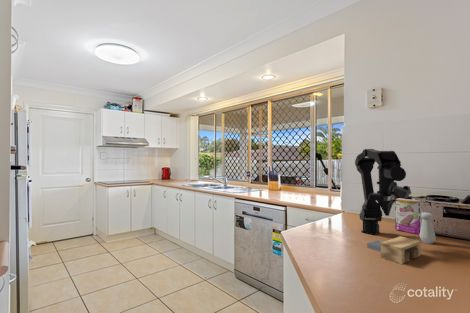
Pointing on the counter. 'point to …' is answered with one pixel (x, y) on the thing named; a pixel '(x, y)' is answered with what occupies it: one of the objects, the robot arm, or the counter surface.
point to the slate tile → (377, 246)
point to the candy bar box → (408, 215)
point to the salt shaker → (427, 229)
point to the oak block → (400, 249)
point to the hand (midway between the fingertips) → (387, 215)
